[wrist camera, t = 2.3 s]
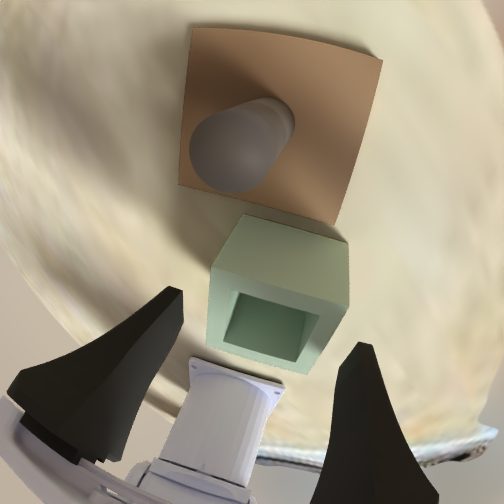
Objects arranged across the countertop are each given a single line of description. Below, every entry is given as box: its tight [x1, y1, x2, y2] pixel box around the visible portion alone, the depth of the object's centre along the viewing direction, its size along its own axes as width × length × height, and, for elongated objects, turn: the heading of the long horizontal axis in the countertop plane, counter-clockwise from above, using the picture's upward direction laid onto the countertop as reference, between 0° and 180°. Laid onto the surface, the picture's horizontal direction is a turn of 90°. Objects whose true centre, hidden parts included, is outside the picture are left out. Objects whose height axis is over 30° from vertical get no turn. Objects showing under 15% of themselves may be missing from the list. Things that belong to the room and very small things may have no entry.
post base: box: [179, 28, 383, 225], centre depth 8 cm, size 7×7×5 cm
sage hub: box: [206, 214, 349, 375], centre depth 13 cm, size 5×5×4 cm
